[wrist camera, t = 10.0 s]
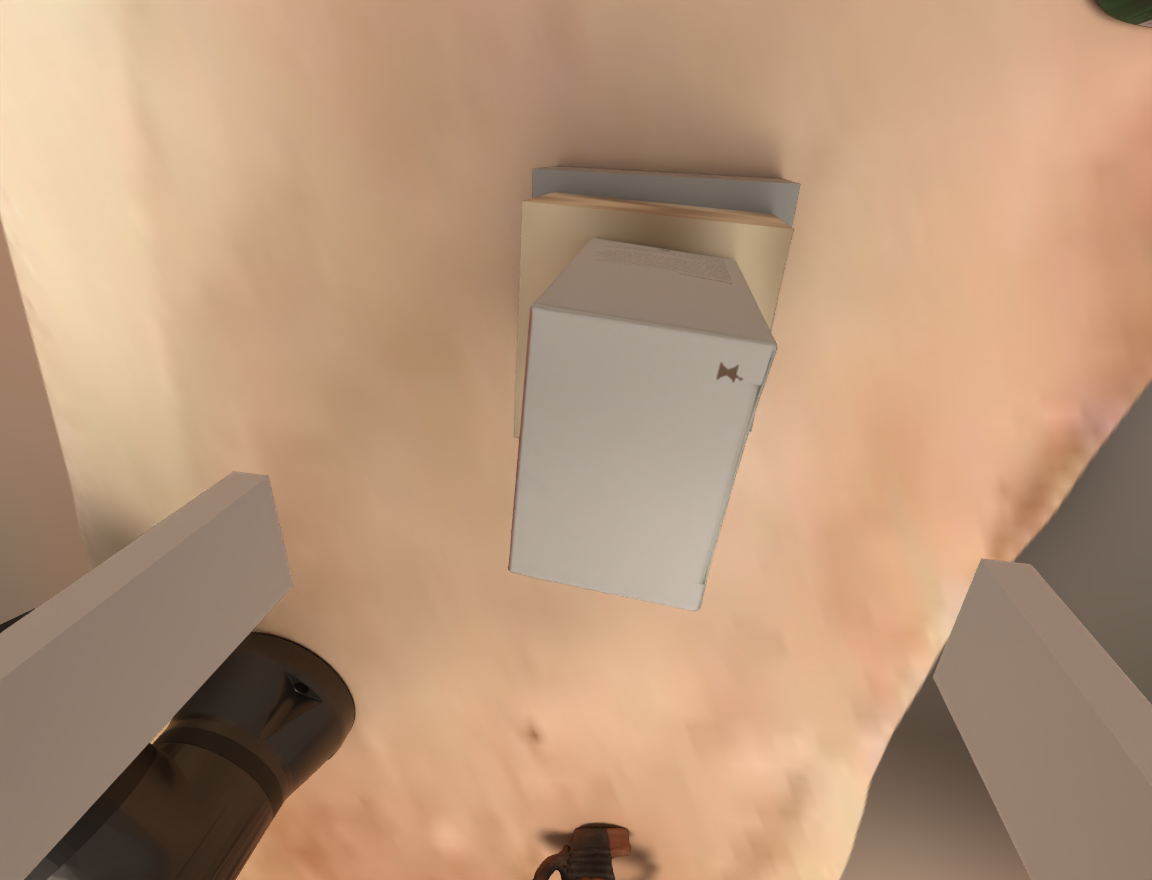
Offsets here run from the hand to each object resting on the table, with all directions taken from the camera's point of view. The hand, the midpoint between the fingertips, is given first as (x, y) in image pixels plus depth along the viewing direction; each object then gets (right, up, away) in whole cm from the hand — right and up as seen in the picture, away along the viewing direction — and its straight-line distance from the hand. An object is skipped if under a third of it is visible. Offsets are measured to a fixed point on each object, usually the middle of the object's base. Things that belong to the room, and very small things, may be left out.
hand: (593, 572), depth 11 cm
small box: (+3, +6, +13) cm, 14 cm away
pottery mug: (+2, -39, +48) cm, 62 cm away
